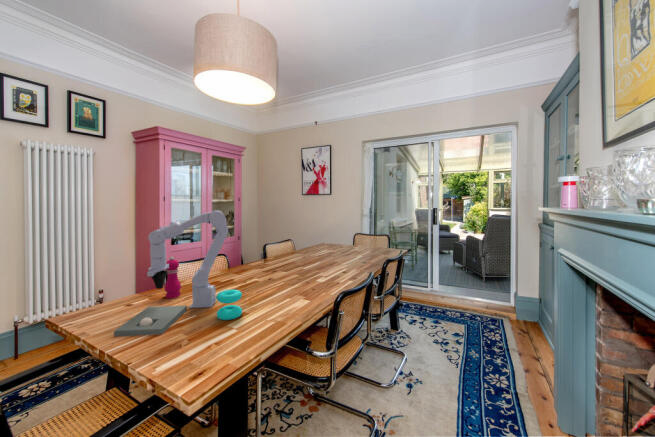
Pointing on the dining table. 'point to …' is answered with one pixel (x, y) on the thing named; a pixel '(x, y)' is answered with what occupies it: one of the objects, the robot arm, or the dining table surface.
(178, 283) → the pepper mill
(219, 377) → the dining table surface
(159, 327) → the plate
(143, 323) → the ball
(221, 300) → the donuts
